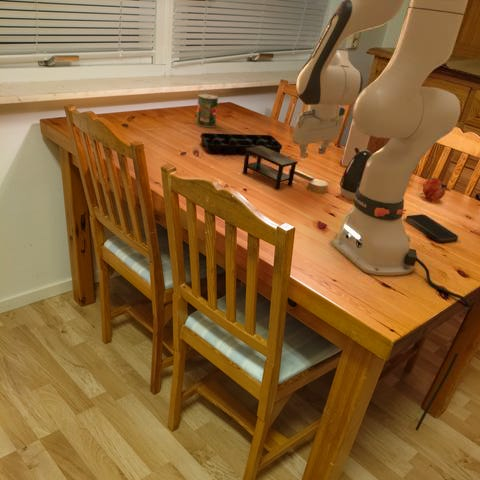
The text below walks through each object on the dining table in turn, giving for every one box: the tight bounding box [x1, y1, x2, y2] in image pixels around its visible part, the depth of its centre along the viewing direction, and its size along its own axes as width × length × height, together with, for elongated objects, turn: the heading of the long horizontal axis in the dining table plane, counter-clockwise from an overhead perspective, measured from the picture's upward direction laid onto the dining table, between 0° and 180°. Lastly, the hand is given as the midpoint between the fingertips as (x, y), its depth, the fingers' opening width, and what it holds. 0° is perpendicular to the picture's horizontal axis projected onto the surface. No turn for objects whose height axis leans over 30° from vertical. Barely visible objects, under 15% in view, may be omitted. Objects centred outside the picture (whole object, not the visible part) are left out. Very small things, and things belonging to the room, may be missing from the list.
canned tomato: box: [195, 92, 219, 128], centre depth 194 cm, size 8×8×11 cm
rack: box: [242, 145, 298, 190], centre depth 155 cm, size 16×8×8 cm, turn 45°
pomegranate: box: [421, 177, 448, 202], centre depth 160 cm, size 7×7×10 cm
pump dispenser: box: [339, 148, 373, 202], centre depth 149 cm, size 10×10×15 cm
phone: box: [405, 213, 459, 244], centre depth 141 cm, size 8×1×15 cm
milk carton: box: [341, 119, 371, 168], centre depth 174 cm, size 7×7×19 cm
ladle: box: [287, 167, 329, 194], centre depth 157 cm, size 15×6×3 cm, turn 45°
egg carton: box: [200, 132, 283, 156], centre depth 177 cm, size 18×30×4 cm, turn 120°
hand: (312, 155), depth 152 cm, fingers open, 8 cm apart
